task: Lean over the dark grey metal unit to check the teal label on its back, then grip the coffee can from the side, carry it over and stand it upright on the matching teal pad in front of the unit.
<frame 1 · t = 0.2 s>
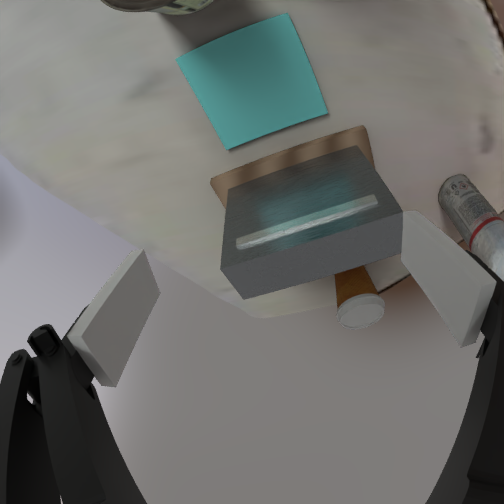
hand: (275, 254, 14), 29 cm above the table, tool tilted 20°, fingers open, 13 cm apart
spray can: (452, 190, 43), on the table
mounted unit: (296, 177, 43), on the table
disposable coffee cup: (348, 268, 58), on the table
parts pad: (254, 81, 32), on the table
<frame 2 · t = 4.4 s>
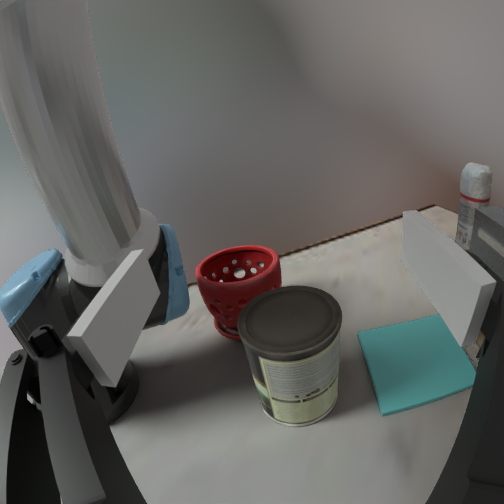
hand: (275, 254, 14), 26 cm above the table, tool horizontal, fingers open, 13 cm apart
coffee can: (298, 395, 34), on the table
spray can: (469, 246, 55), on the table
mounted unit: (496, 333, 32), on the table
plant pot: (250, 321, 50), on the table
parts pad: (417, 360, 34), on the table
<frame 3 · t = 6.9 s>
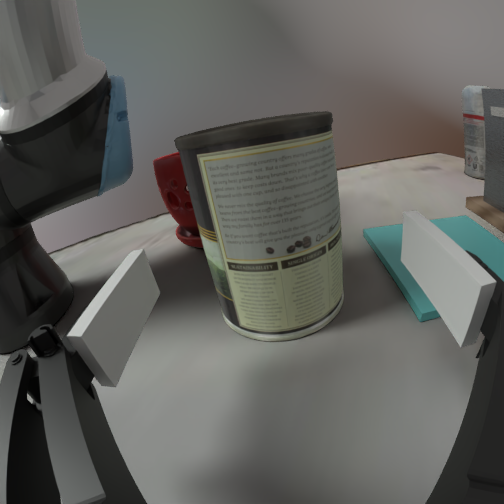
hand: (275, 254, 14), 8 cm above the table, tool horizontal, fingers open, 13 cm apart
coffee can: (282, 301, 24), on the table
spray can: (480, 176, 45), on the table
plant pot: (222, 233, 39), on the table
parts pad: (451, 257, 23), on the table
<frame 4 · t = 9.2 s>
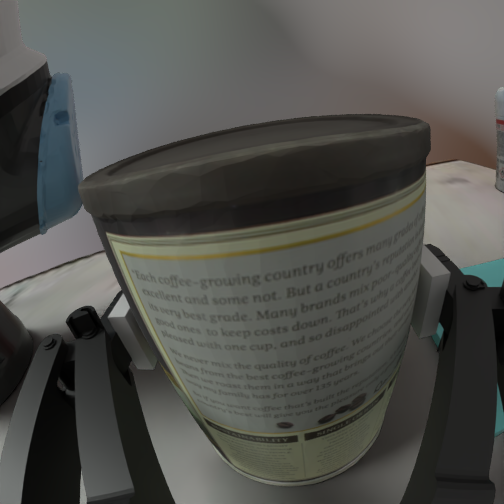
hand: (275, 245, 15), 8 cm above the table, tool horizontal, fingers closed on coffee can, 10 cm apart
coffee can: (295, 409, 14), on the table, touching gripper
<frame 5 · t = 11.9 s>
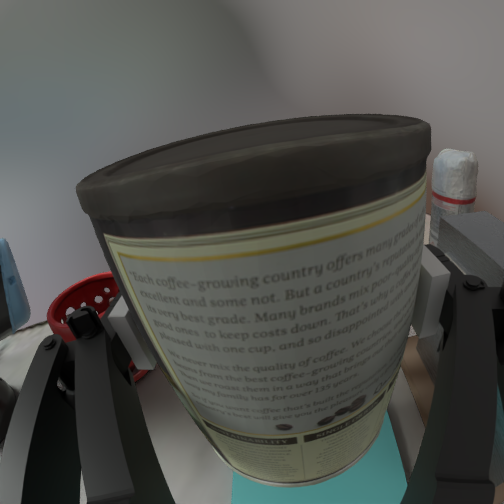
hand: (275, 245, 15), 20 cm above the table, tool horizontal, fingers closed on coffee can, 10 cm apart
coffee can: (295, 410, 14), point 12 cm above the table, touching gripper
spray can: (446, 263, 43), on the table
mounted unit: (465, 414, 19), on the table
plant pot: (125, 362, 36), on the table
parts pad: (316, 458, 21), on the table
when the fingers open (10 cm above the table, at t = 14.9 s): coffee can drops 1 cm, resting on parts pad.
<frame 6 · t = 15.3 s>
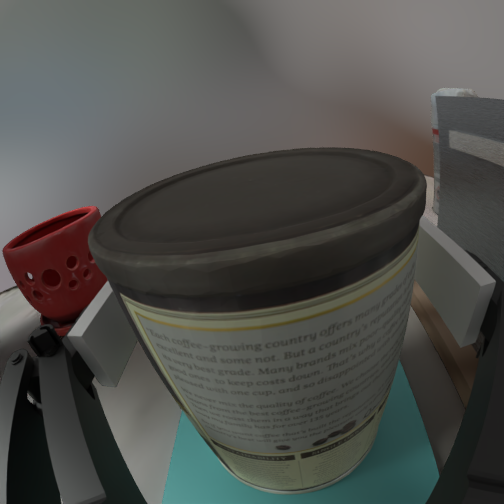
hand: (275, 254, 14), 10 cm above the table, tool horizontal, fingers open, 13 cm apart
coffee can: (294, 422, 15), point 1 cm above the table, touching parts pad
spray can: (455, 214, 37), on the table
mounted unit: (503, 365, 14), on the table
plant pot: (86, 312, 31), on the table
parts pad: (297, 424, 15), on the table
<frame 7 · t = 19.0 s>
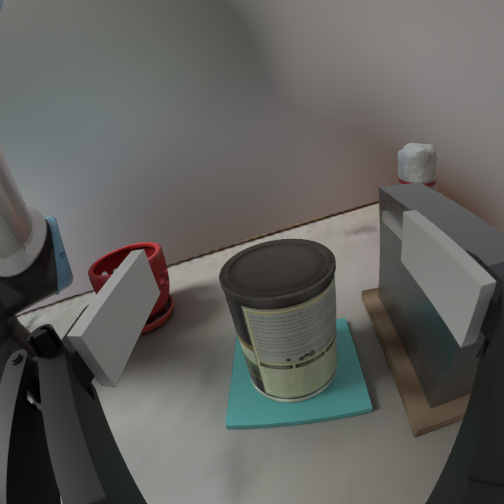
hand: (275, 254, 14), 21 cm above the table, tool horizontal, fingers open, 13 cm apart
coffee can: (293, 369, 31), point 1 cm above the table, touching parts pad
spray can: (416, 240, 54), on the table
mounted unit: (420, 345, 30), on the table
plant pot: (148, 317, 48), on the table
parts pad: (295, 371, 32), on the table
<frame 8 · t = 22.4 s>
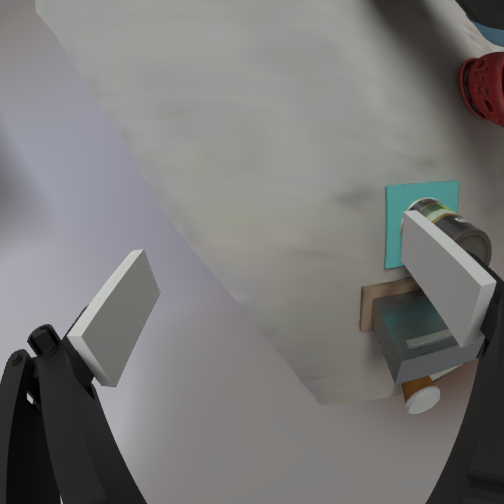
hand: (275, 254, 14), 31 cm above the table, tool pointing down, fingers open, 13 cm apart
coffee can: (423, 224, 44), point 1 cm above the table, touching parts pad
mounted unit: (414, 297, 51), on the table
disposable coffee cup: (409, 368, 62), on the table
plant pot: (478, 89, 32), on the table
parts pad: (422, 223, 44), on the table
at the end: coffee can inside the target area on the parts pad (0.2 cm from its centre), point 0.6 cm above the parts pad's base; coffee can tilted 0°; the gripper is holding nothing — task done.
